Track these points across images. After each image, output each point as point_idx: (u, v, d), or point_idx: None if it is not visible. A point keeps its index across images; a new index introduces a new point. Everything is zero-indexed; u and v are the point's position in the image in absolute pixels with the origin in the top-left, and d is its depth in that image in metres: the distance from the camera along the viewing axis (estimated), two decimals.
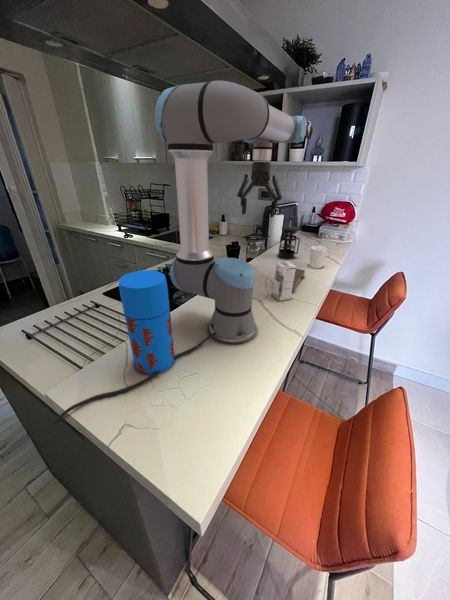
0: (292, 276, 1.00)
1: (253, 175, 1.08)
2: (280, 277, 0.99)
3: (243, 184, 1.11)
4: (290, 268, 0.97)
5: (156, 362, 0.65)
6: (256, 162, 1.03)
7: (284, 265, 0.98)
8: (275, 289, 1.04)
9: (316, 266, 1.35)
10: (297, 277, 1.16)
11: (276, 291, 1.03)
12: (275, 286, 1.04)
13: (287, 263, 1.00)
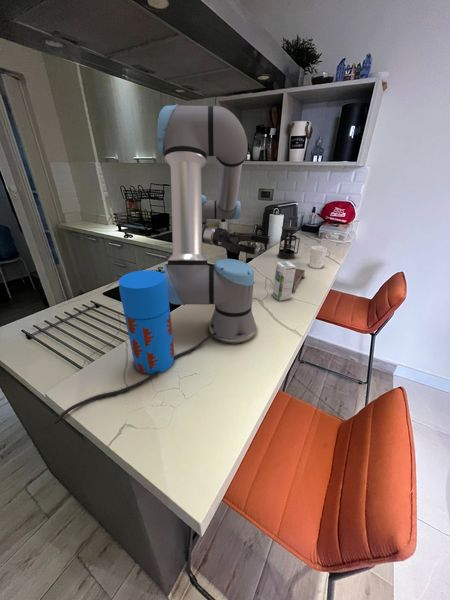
0: (292, 276, 1.00)
1: (223, 237, 1.05)
2: (280, 277, 0.99)
3: (225, 242, 1.00)
4: (290, 268, 0.97)
5: (156, 362, 0.65)
6: (216, 229, 1.07)
7: (284, 265, 0.98)
8: (275, 289, 1.04)
9: (316, 266, 1.35)
10: (297, 277, 1.16)
11: (276, 291, 1.03)
12: (275, 286, 1.04)
13: (287, 263, 1.00)
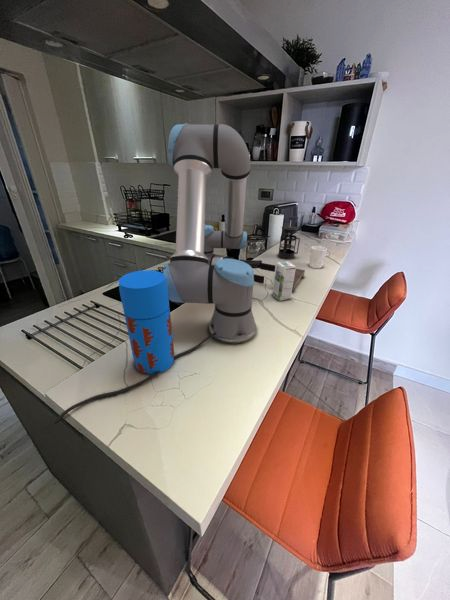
0: (292, 276, 1.00)
1: None
2: (280, 277, 0.99)
3: None
4: (290, 268, 0.97)
5: (156, 362, 0.65)
6: (223, 258, 1.11)
7: (284, 265, 0.98)
8: (275, 289, 1.04)
9: (316, 266, 1.35)
10: (297, 277, 1.16)
11: (276, 291, 1.03)
12: (275, 286, 1.04)
13: (287, 263, 1.00)
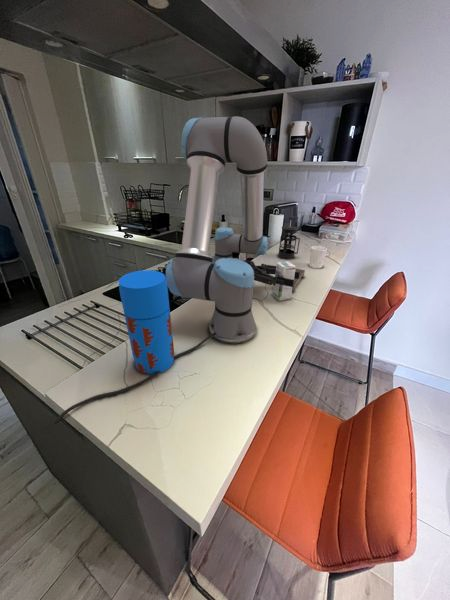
0: (292, 276, 1.00)
1: None
2: None
3: (259, 275, 1.00)
4: (290, 268, 0.97)
5: (156, 362, 0.65)
6: (243, 261, 1.07)
7: (284, 265, 0.98)
8: (275, 289, 1.04)
9: (316, 266, 1.35)
10: None
11: (276, 291, 1.03)
12: (275, 286, 1.04)
13: (287, 263, 1.00)
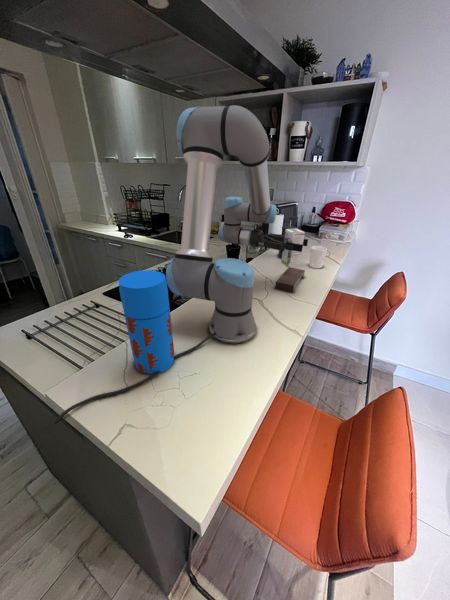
0: (301, 242, 1.01)
1: (261, 238, 1.06)
2: None
3: (269, 241, 1.02)
4: (299, 233, 0.99)
5: (156, 362, 0.65)
6: (252, 230, 1.09)
7: (293, 231, 1.00)
8: (284, 256, 1.06)
9: (316, 266, 1.35)
10: (297, 277, 1.16)
11: (285, 258, 1.05)
12: (284, 253, 1.06)
13: (296, 229, 1.02)
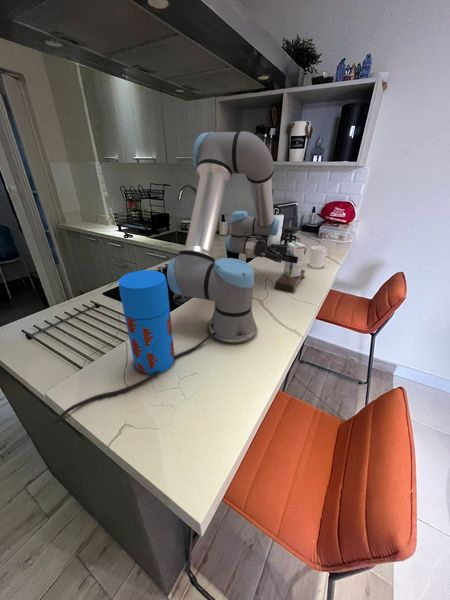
0: (302, 255, 1.11)
1: (265, 249, 1.16)
2: None
3: (269, 252, 1.11)
4: (300, 247, 1.09)
5: (156, 362, 0.65)
6: (257, 241, 1.19)
7: (295, 245, 1.10)
8: (286, 267, 1.16)
9: (316, 266, 1.35)
10: (297, 277, 1.16)
11: (287, 269, 1.15)
12: (286, 264, 1.16)
13: (297, 243, 1.12)
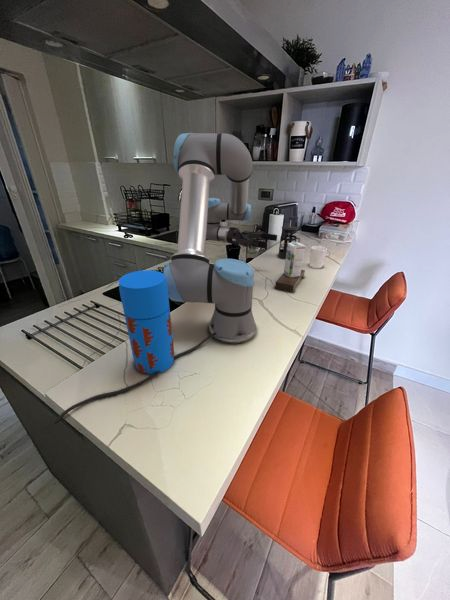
0: (302, 255, 1.11)
1: (236, 235, 1.18)
2: (291, 256, 1.11)
3: (239, 238, 1.13)
4: (300, 247, 1.09)
5: (156, 362, 0.65)
6: (229, 228, 1.20)
7: (295, 245, 1.10)
8: (286, 267, 1.16)
9: (316, 266, 1.35)
10: (297, 277, 1.16)
11: (287, 269, 1.15)
12: (286, 264, 1.16)
13: (297, 243, 1.12)
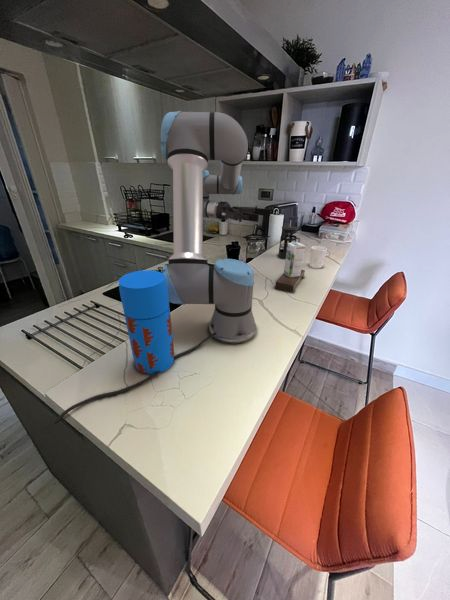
0: (302, 255, 1.11)
1: (226, 209, 1.09)
2: (291, 256, 1.11)
3: (229, 211, 1.04)
4: (300, 247, 1.09)
5: (156, 362, 0.65)
6: (219, 202, 1.11)
7: (295, 245, 1.10)
8: (286, 267, 1.16)
9: (316, 266, 1.35)
10: (297, 277, 1.16)
11: (287, 269, 1.15)
12: (286, 264, 1.16)
13: (297, 243, 1.12)
